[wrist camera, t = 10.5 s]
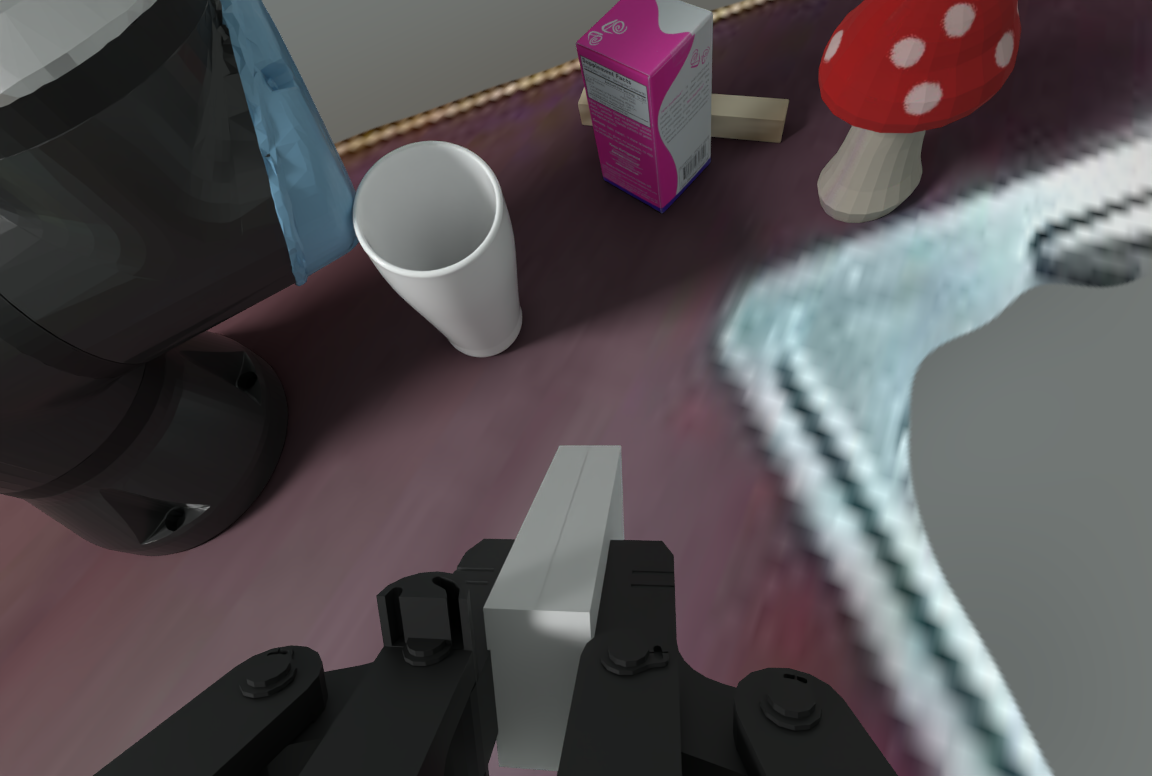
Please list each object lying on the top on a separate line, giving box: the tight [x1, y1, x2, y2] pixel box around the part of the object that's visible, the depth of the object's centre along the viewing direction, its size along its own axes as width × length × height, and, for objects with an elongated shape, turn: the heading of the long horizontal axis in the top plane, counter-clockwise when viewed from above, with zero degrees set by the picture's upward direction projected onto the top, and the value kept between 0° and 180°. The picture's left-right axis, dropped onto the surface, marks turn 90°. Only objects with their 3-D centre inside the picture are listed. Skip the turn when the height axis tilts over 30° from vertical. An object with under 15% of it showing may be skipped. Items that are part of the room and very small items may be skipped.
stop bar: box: [578, 87, 789, 143], centre depth 45 cm, size 15×2×2 cm, turn 73°
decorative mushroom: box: [817, 0, 1021, 223], centre depth 34 cm, size 10×9×15 cm
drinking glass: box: [353, 141, 522, 357], centre depth 33 cm, size 7×7×15 cm
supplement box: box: [576, 0, 713, 213], centre depth 39 cm, size 6×6×12 cm
